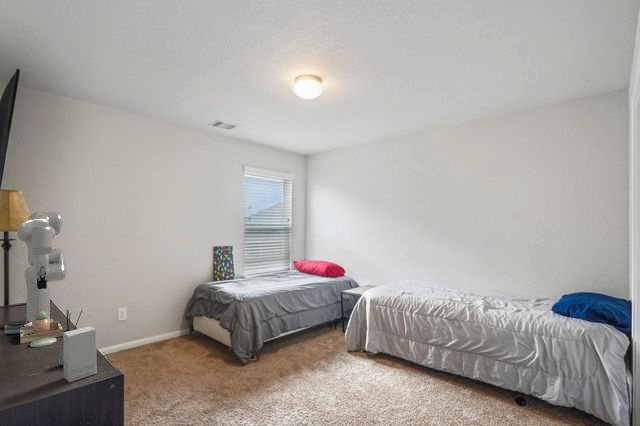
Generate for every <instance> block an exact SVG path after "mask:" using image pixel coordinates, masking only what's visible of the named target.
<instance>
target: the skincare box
mask: <svg viewBox="0 0 640 426" xmlns="http://www.w3.org/2000/svg"><path fill="white" fill-rule="evenodd" d="M62 339H63V340H62V341H63V349H62V350H64V365H63V378H64V379H65V380H66V381H67V382H68V383H72V382H77V381H78V380H81V379H84V378H88V377H90V376H93V375H96V374H97V373H98V369H97V368H98V367H97V329H96V328H95V327H92V326H85V327H81V328H80V327H79V328H77V329H76V328H75V330H74V329H72V330H69V331H68V332H67V331H63V336H62Z"/></svg>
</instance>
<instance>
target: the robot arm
mask: <svg viewBox="0 0 640 426" xmlns="http://www.w3.org/2000/svg"><path fill="white" fill-rule="evenodd" d="M62 226H63V218H62V216H61V214H60V213H59V212H56V211H54V212H52V211H46V212H45V211H44V212H43V211H42V212H41V211H39V212H38V211H37V212H33V213H31V214H30V215H29V216H28V219H27V220H26V221H25V220H24V221H23V222H21V223H20V224H18V227H17V238H18V240H19V241H20V242H23V243H25V245H26V247H27V262H28V265H29V266H27V268H26V269H25V271H24V279H25V284H26V285H25V286H26V322H27V321H29V322H32V325H33V320H34V319H37V318H36V315H37V314H38V313H39V312H42V311H43V312H46V313H47V317H49V318H50V322H54V319H53V318H51V317H50V316H51V291H50V288H49V287H48V284H47V283H50V282H59V281H63V280H64V279H66V277H67V265H66V256H65V253H64V251H63V250H62V249H60V248H52V247H53V244H52V243H53V239H55V237H56V236H59V234H60V233H61V231H62Z"/></svg>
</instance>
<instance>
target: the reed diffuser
mask: <svg viewBox="0 0 640 426" xmlns="http://www.w3.org/2000/svg"><path fill="white" fill-rule="evenodd" d="M69 311H70V310H69V309H67V310H66V332H68V331H70V324H71V314H72V313H71V312H70V313H69ZM82 313H83V310H81V311H80V313H79V316H78V319H77V321H76V323H75V326H74V327H73V330H76V327H77V325H78V322H79V320H80V317H81V314H82ZM58 359H59V360H58V362H59V365H61V366H64V349H62V351H61V352H60V353H59V357H58Z"/></svg>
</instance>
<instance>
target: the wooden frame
mask: <svg viewBox="0 0 640 426" xmlns="http://www.w3.org/2000/svg"><path fill="white" fill-rule="evenodd" d="M63 332H64V329H63V327H62V325H61V321H60V320H57V321H53V322H50V331H49V332H43V333H38V334H32V333H33V325H31V326H26V327H23V326H21V327H20V328H19V337H20V345H22V344H23V345H24V344H27V343H31V342H33V341H36V340H40V339H45V338H59V337H63ZM28 334H30V335H28Z"/></svg>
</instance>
